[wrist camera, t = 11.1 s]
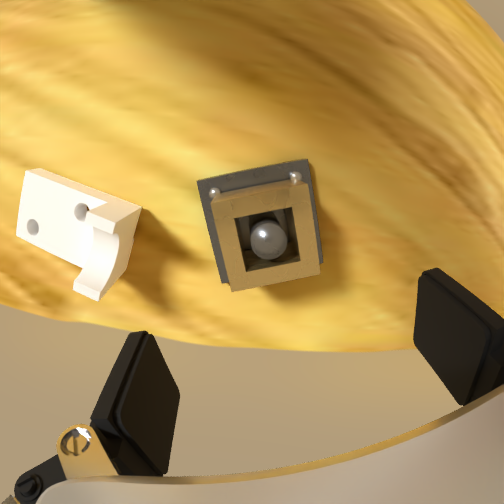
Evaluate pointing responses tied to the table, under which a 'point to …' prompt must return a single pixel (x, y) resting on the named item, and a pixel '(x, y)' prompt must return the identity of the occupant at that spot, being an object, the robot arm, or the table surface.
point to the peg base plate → (261, 224)
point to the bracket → (78, 227)
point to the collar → (299, 225)
